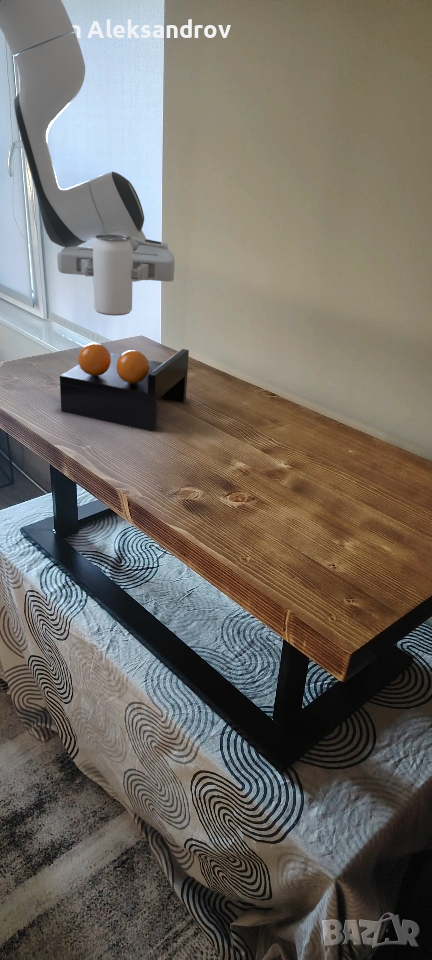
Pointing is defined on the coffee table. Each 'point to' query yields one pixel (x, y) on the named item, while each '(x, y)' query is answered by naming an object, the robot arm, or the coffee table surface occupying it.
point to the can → (112, 274)
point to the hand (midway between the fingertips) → (112, 273)
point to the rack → (122, 385)
